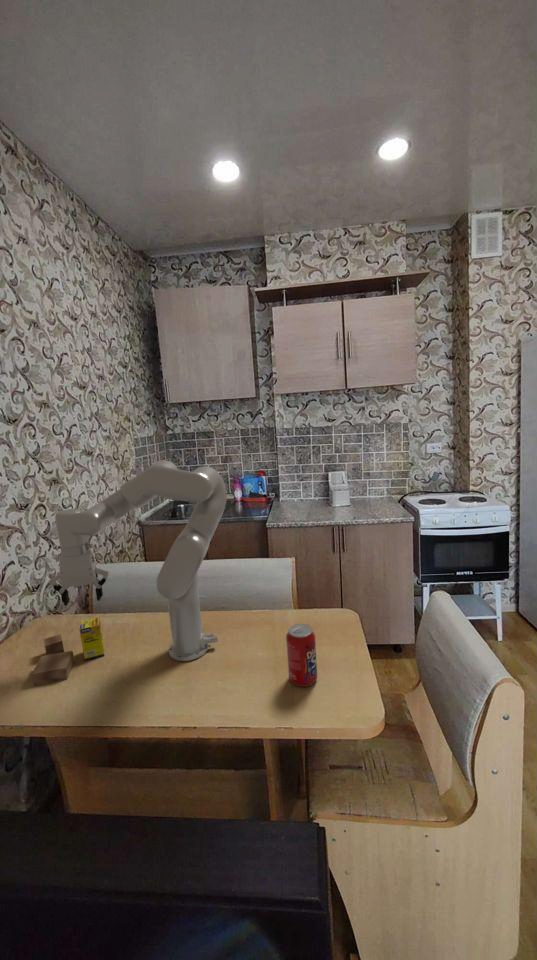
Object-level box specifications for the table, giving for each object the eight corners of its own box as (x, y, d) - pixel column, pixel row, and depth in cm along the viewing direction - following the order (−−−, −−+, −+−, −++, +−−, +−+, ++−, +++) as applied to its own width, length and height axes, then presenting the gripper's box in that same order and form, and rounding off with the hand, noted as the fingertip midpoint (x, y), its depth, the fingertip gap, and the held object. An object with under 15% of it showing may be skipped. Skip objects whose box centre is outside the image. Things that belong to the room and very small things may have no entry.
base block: (74, 662, 131) (72, 650, 131) (67, 680, 123) (65, 667, 122) (43, 667, 130) (41, 656, 129) (34, 686, 121) (31, 674, 120)
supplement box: (104, 656, 133) (99, 624, 131) (84, 661, 131) (79, 629, 129) (104, 646, 138) (99, 616, 136) (85, 651, 136) (79, 620, 134)
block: (63, 647, 140) (60, 634, 139) (64, 654, 135) (62, 640, 134) (46, 653, 137) (43, 639, 136) (47, 660, 133) (44, 646, 132)
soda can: (284, 675, 118) (281, 626, 115) (309, 667, 120) (306, 619, 118) (296, 692, 110) (292, 641, 108) (322, 683, 113) (319, 633, 110)
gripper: (106, 541, 133) (114, 591, 136) (48, 549, 130) (57, 600, 133) (101, 549, 125) (110, 602, 129) (40, 557, 122) (50, 611, 126)
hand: (83, 601), depth 131 cm, fingers open, 9 cm apart
